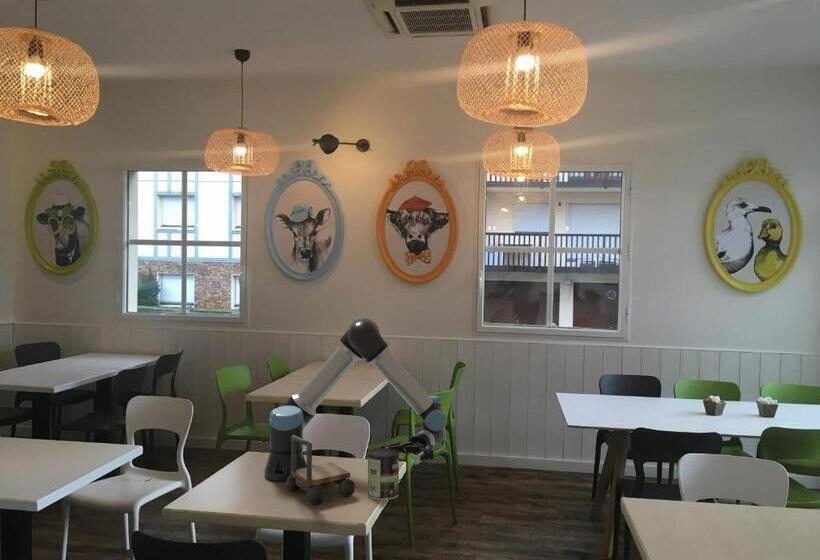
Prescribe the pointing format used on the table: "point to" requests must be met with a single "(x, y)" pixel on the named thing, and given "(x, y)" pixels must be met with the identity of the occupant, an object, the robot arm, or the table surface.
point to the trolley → (317, 476)
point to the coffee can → (383, 474)
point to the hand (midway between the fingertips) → (396, 458)
